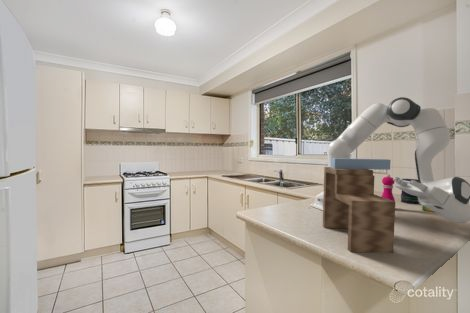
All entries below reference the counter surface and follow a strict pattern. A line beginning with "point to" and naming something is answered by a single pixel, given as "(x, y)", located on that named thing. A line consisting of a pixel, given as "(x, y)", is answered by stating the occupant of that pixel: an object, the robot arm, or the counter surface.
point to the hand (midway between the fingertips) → (402, 180)
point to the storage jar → (409, 196)
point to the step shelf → (358, 210)
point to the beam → (360, 163)
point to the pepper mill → (388, 187)
